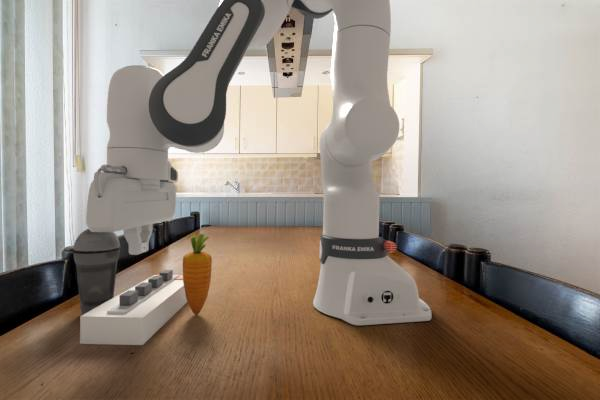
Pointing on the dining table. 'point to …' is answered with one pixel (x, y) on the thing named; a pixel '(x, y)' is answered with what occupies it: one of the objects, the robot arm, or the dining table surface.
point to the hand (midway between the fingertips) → (138, 253)
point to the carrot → (197, 274)
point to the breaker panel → (135, 312)
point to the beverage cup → (96, 267)
